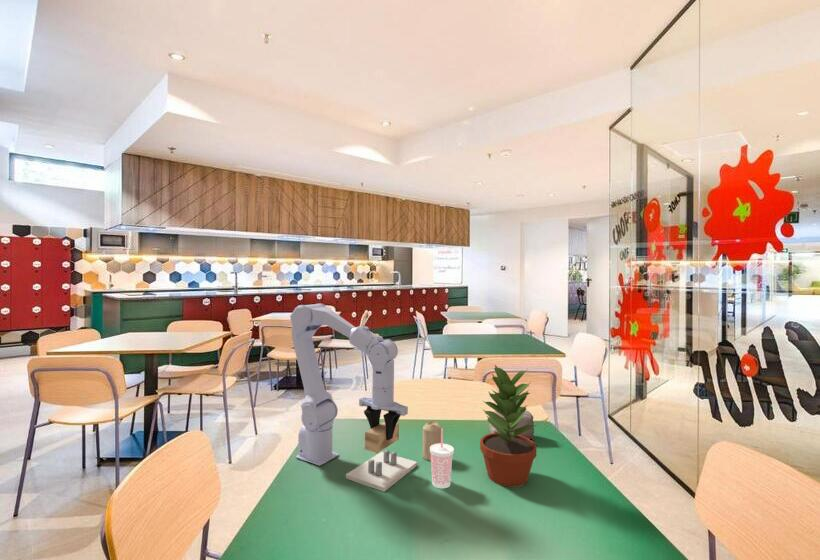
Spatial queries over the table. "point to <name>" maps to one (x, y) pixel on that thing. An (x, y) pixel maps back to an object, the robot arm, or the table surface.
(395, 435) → the tan rectangular block
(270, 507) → the table surface
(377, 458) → the peg base
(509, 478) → the potted plant
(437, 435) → the candle
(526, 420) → the food item
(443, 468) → the beverage cup
